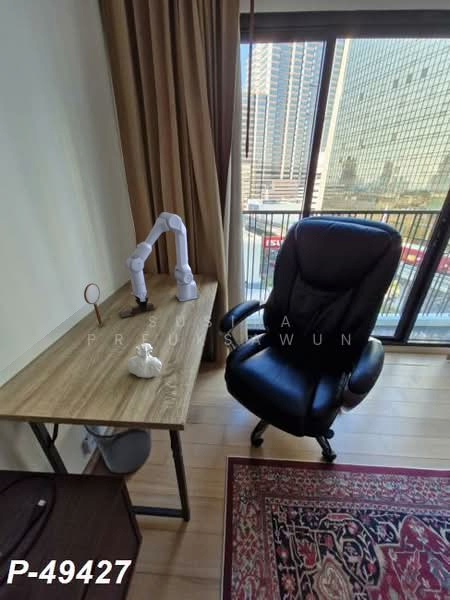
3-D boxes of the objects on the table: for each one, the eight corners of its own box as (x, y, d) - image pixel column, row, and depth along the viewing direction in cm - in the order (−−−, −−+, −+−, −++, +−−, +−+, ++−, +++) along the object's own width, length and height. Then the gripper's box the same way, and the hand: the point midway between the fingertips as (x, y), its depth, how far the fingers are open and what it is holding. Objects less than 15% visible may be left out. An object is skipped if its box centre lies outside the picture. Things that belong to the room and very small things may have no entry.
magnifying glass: (96, 331, 107) (84, 288, 97) (93, 331, 107) (80, 288, 98) (108, 320, 114) (98, 280, 105) (105, 320, 115) (94, 280, 105)
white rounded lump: (164, 377, 85) (168, 344, 87) (156, 380, 78) (160, 344, 80) (131, 374, 87) (136, 341, 89) (120, 376, 80) (125, 341, 82)
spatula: (152, 306, 126) (151, 301, 124) (154, 311, 122) (153, 305, 120) (121, 313, 120) (119, 307, 119) (122, 318, 116) (120, 312, 115)
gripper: (127, 278, 119) (132, 303, 126) (131, 290, 108) (136, 317, 114) (142, 276, 122) (146, 301, 128) (147, 287, 110) (152, 313, 117)
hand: (142, 308), depth 121 cm, fingers open, 6 cm apart
